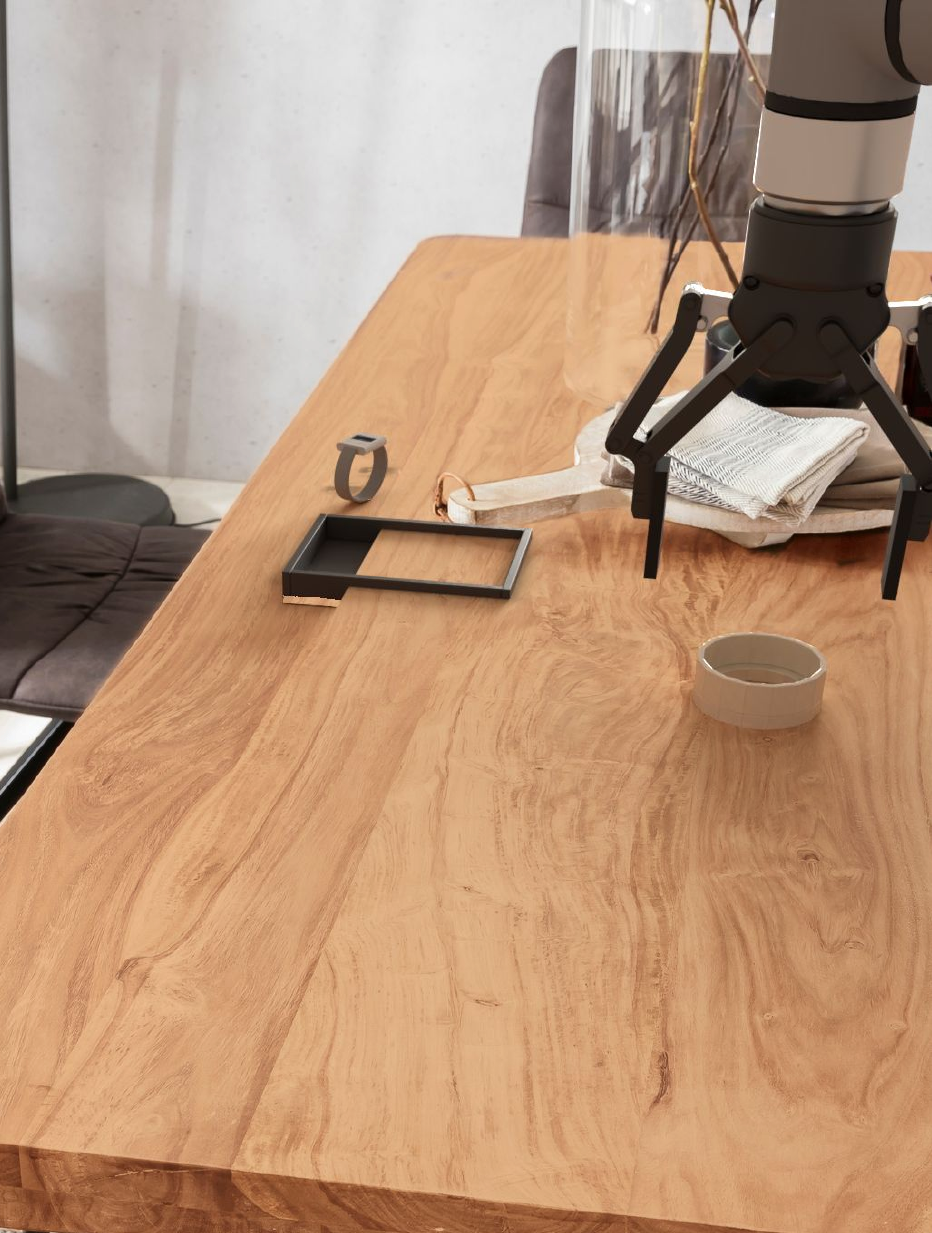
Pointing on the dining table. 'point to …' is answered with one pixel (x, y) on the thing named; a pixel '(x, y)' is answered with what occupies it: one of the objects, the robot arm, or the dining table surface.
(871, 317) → the robot arm
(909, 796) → the dining table surface
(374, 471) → the wristwatch
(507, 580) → the tray frame
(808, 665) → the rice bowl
